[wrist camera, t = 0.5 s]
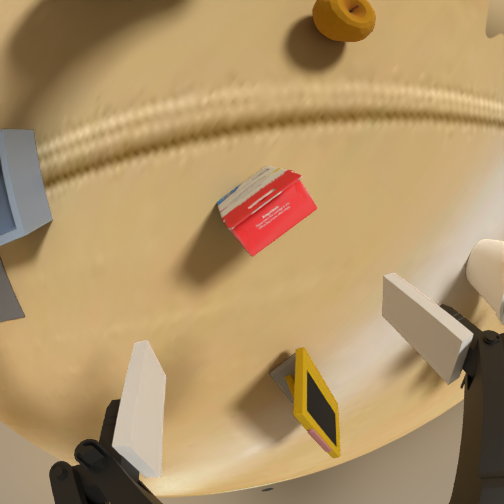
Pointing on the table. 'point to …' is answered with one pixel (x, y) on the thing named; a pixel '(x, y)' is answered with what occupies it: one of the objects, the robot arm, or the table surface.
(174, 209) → the table surface
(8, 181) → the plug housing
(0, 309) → the header
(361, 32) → the apple
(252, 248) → the ink box
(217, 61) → the table surface
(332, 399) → the yellow framed monitor
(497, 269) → the potted plant
